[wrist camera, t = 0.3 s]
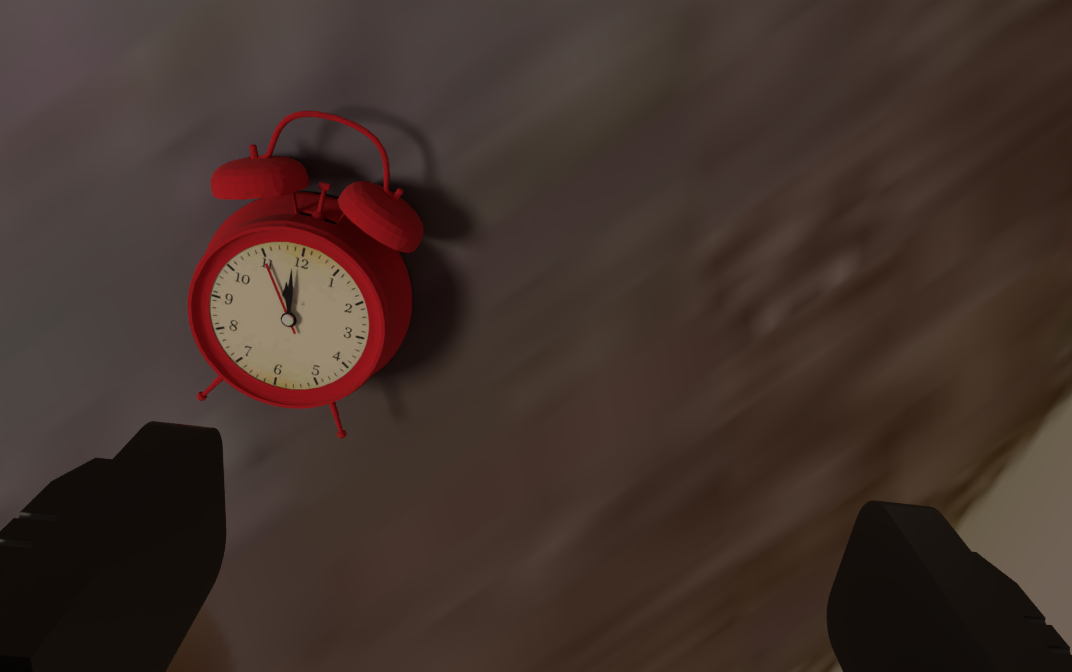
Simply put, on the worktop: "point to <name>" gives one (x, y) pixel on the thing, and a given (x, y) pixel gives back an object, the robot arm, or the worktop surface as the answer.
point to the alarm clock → (302, 281)
